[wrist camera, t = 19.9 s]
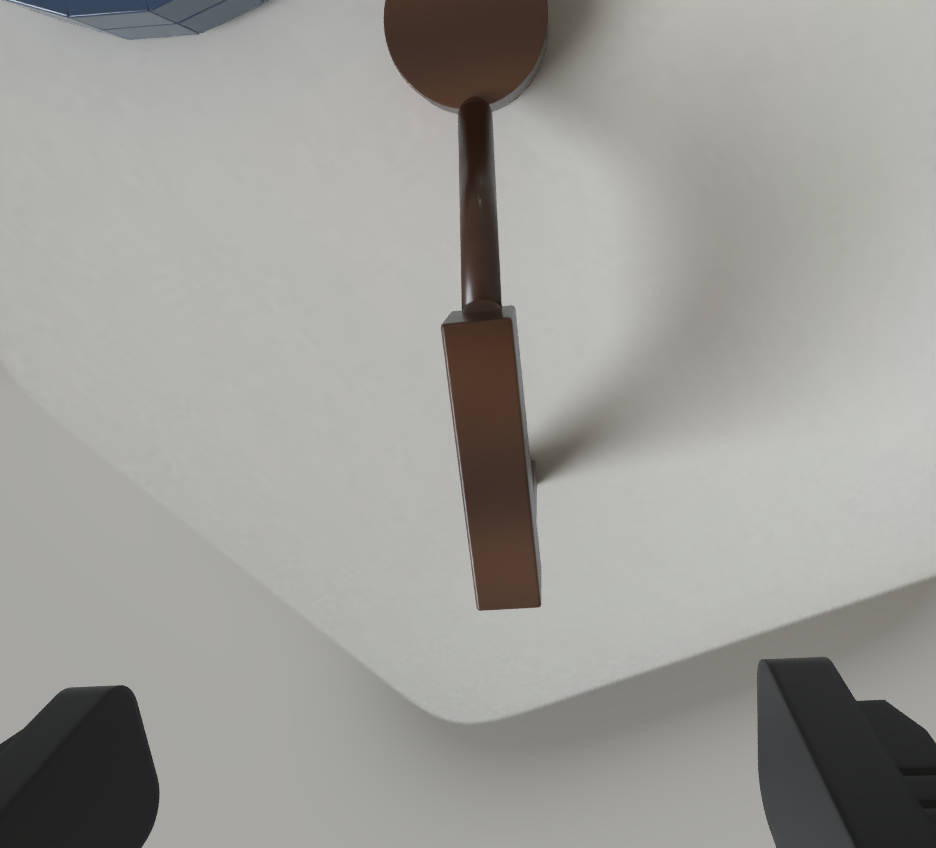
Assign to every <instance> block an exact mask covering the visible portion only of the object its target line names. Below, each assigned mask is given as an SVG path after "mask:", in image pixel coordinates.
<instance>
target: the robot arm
mask: <svg viewBox="0 0 936 848" xmlns="http://www.w3.org/2000/svg"><path fill="white" fill-rule="evenodd" d="M757 705H758V708H757V709H758V772H759V782H760V790H761V795H762V801H763V806H764V810H765V814H766V818H767V822H768V825H769V828H770V831H771V834H772V836H773V839H774V842H775V844H776V848H936V743H935V742H934V740H933V739H932V738H931V736H930V735H929V733H928V732H927V731H926V730H925V729H924V728H923V727H921V726H920V725H918V724H917V723H916V722H914V721H913V720H911V719H910V718H909V717H907V716H906V715H904V714H903V713H902V712H900V711H899V710H898V709H896V708H895V707H893V706H892V705H891V704H889V703H888V702H887V701H885V700H869V701H856V700H855V698H854V697H853V695H852V693H851V692H850V690H849V689H848V687H847V685H846V684H845V682H844V681H843V679H842V677H841V676H840V674H839V673H838V671H837V669H836V668H835V666H834V665H833V663H832V662H831V661H830V659H828V658H827V657H809V658H785V659H764V660H763V659H762V660H760V662H759V664H758V670H757ZM158 805H159V783H158V778H157V774H156V771H155V767H154V763H153V759H152V756H151V752H150V748H149V745H148V741H147V737H146V733H145V730H144V726H143V722H142V718H141V715H140V711H139V707H138V703H137V700H136V697H135V696H134V694H133V692H132V691H131V690H130V689H129V688H128V687H126V686H123V685H121V686H120V685H119V686H96V687H74V688H73V687H72V688H67V689H64V690H62V691H61V692H60V693H58V694H57V695H56V696H55V697H54V698H53V699H52V700H51V701H50V702H49V703H48V704H47V705H46V706H45V707H44V708H43V709H42V710H41V711H40V712H39V713H38V714H37V715H36V716H35V718H34V719H33V720H32V721H31V722H30V723H29V724H28V725H27V726H26V727H25V728H24V729H22V730H21V731H19V732H18V733H16V734H15V735H13V736H12V737H10V738H9V739H8V740H6V741H4V742H3V743H1V744H0V848H142V846H143V844H144V843H145V841H146V840H147V838H148V836H149V834H150V832H151V830H152V828H153V825H154V822H155V819H156V816H157V812H158Z"/></svg>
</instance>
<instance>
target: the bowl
mask: <svg viewBox="0 0 936 848" xmlns="http://www.w3.org/2000/svg"><path fill="white" fill-rule="evenodd" d="M3 1H6V2H9V3H12V4H14V5H17V6H20V7H23V8H26V9H29V10H31V11H34V12H37V13H40V14H43V15H46V16H49V17H51V18H54V19H57V20H60V21H64V22H67V23H71V24H74V25H78V26H81V27H85V28H89V29H92V30H96V31H99V32H103V33H106V34H110V35H113V36H117V37H121V38H124V39H130V40H134V39H146V38H159V37H172V36H184V35H197V34H200V33H203V32H205V31H207V30H209V29H211V28H213V27H216V26H218V25H220V24H222V23H224V22H226V21H228V20H230V19H232V18H234V17H236V16H239V15H241V14H243V13H245V12H247V11H249V10H251V9H253V8H255V7H257V6H259V5H262V4H263V3H264V2H267V1H268V0H3Z"/></svg>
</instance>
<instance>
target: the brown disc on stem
mask: <svg viewBox="0 0 936 848" xmlns="http://www.w3.org/2000/svg"><path fill="white" fill-rule="evenodd" d="M384 30H385V37H386V42H387V46H388V49H389V52H390V55H391V57H392V60H393V62H394V64H395V66H396V68H397V69H398V71H399V72H400V74H401V76H402V77H403V78H404V79H405V81H406V82H407V83H408V84H409V85H410V86H411V87H412V88H413V89H414V90H415V91H416V92H418V93H419V94H420V95H421V96H423V97H424V98H425V99H427V100H428V101H429V102H431V103H432V104H434V105H435V106H437V107H439V108H441V109H443V110H446V111H449V112H451V113H456V114H458V141H459V190H460V238H461V287H462V311H453V312H451V313H450V314H449V316H448V317H447V318H446V320H445V321H444V322H443V324H442V325H441V332H442V340H443V348H444V355H445V363H446V371H447V379H448V387H449V395H450V402H451V410H452V418H453V426H454V434H455V442H456V449H457V457H458V465H459V473H460V481H461V489H462V496H463V504H464V512H465V520H466V528H467V536H468V543H469V551H470V559H471V567H472V575H473V582H474V590H475V598H476V606H477V609H478V610H480V611H482V610H500V609H518V608H536V607H540V606H541V562H540V552H539V542H538V532H537V522H536V513H537V479H536V469H535V462H534V461H530V451H529V441H528V431H527V421H526V411H525V401H524V391H523V381H522V371H521V361H520V350H519V340H518V330H517V320H516V310H515V307H514V306H512V305H511V306H502V304H501V284H500V263H499V243H498V222H497V202H496V181H495V161H494V140H493V120H492V111H495V110H498V109H500V108H502V107H504V106H506V105H508V104H509V103H511V102H512V101H513V100H515V99H516V98H517V97H518V96H519V95H520V94H522V93H523V92H524V90H525V89H526V88H527V87H528V86H529V84H530V83H531V82H532V80H533V78H534V77H535V75H536V73H537V71H538V69H539V67H540V65H541V62H542V60H543V57H544V53H545V49H546V44H547V34H548V6H547V0H386V1H385V8H384Z"/></svg>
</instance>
